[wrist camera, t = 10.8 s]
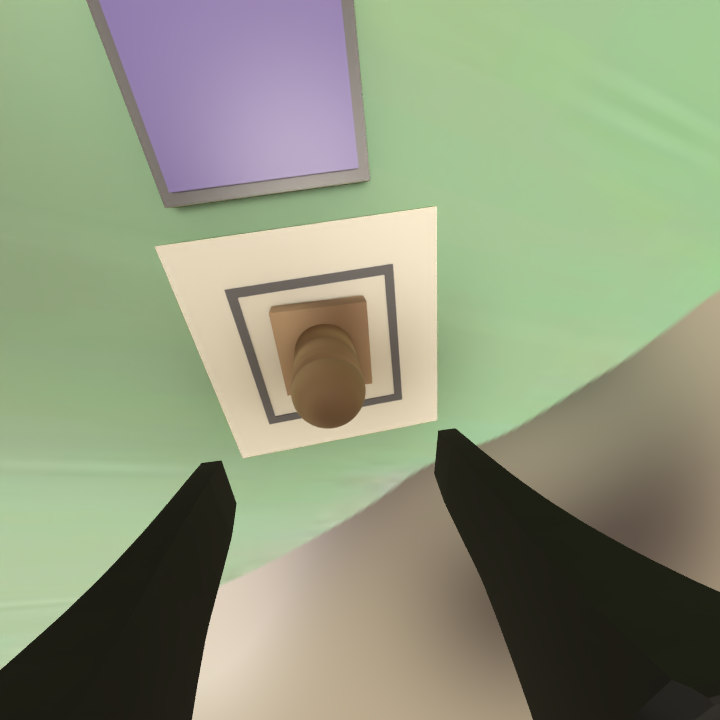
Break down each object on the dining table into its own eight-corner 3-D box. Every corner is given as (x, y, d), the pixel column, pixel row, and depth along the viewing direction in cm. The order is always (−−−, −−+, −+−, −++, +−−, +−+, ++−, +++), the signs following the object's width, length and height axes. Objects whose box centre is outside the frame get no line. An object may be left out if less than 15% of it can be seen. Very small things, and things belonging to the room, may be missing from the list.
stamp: (289, 382, 19) (278, 470, 13) (271, 304, 17) (248, 365, 10) (368, 371, 19) (395, 450, 13) (362, 294, 17) (392, 346, 11)
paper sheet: (243, 456, 21) (242, 459, 21) (156, 246, 15) (153, 246, 14) (436, 418, 22) (437, 421, 22) (435, 206, 16) (437, 206, 16)
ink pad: (175, 207, 14) (162, 207, 13) (96, -11, 11) (67, -40, 10) (365, 181, 15) (371, 179, 14) (344, -31, 12) (349, -62, 10)
